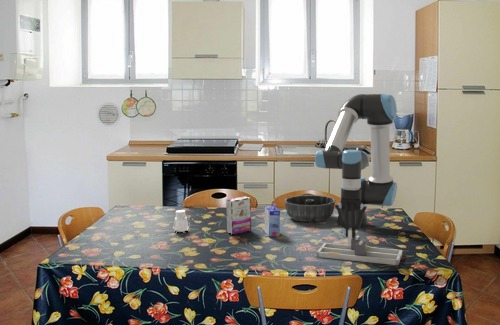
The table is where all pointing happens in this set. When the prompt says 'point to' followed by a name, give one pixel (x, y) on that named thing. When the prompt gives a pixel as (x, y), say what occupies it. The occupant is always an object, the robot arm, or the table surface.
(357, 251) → the tab
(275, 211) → the ink cartridge box
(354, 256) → the tray
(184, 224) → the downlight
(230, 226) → the candy bar box
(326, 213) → the bundt pan
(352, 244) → the tab
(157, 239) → the table surface
